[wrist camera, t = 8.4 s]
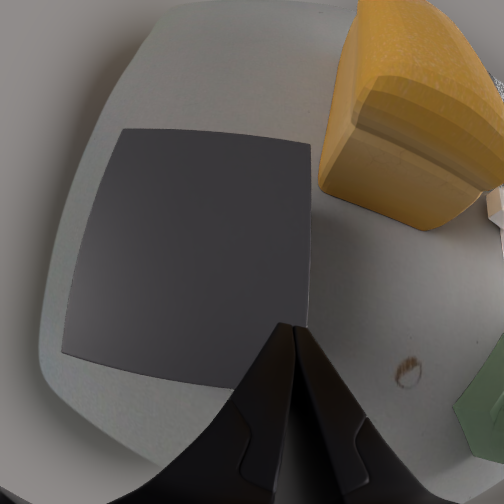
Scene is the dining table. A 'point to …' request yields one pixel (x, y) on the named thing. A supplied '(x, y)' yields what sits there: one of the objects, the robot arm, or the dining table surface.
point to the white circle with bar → (497, 210)
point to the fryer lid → (192, 255)
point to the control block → (485, 408)
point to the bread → (411, 117)
